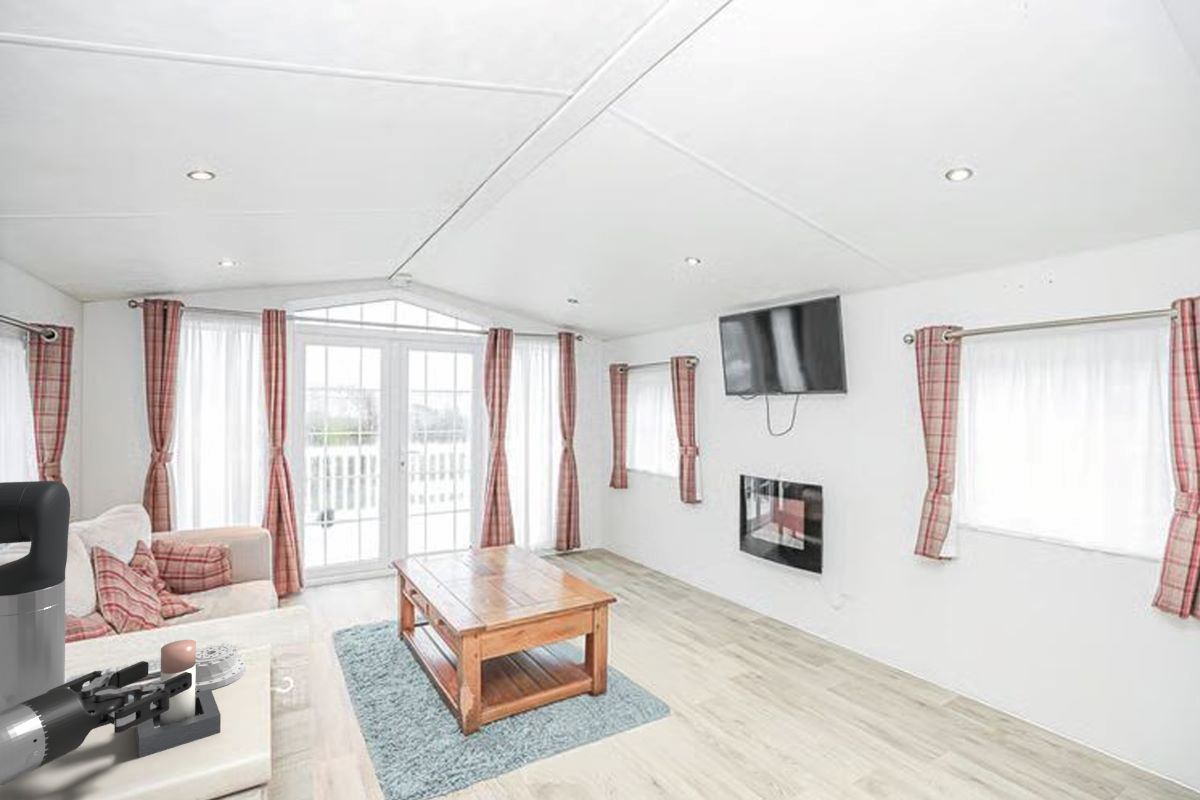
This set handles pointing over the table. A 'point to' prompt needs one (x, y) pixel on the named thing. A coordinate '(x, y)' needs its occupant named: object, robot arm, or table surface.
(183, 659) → the peg
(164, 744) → the socket
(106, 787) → the table surface
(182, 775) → the table surface
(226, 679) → the mechanical component
